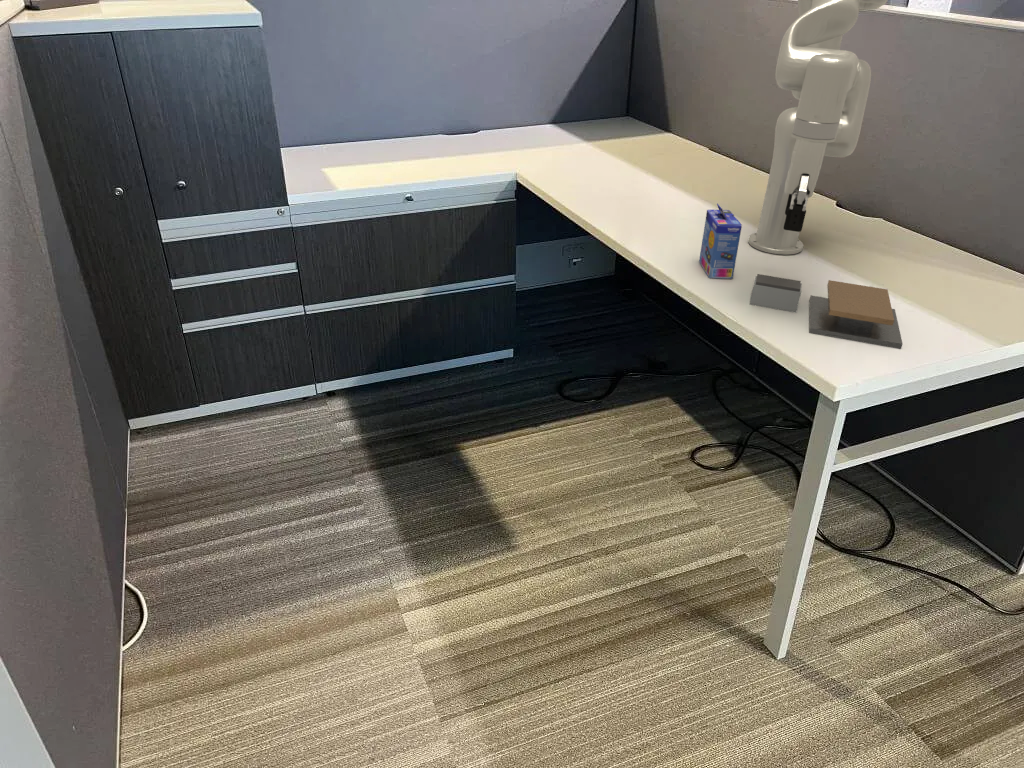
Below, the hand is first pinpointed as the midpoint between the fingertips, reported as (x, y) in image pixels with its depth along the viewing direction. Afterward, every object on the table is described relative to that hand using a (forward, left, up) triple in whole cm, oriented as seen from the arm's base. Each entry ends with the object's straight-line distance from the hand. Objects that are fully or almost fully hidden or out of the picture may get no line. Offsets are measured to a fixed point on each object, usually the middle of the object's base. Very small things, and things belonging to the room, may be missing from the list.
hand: (792, 222), depth 145 cm
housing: (0, 0, -17) cm, 17 cm away
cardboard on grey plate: (+3, +15, -17) cm, 23 cm away
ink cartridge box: (-13, -13, -17) cm, 25 cm away
